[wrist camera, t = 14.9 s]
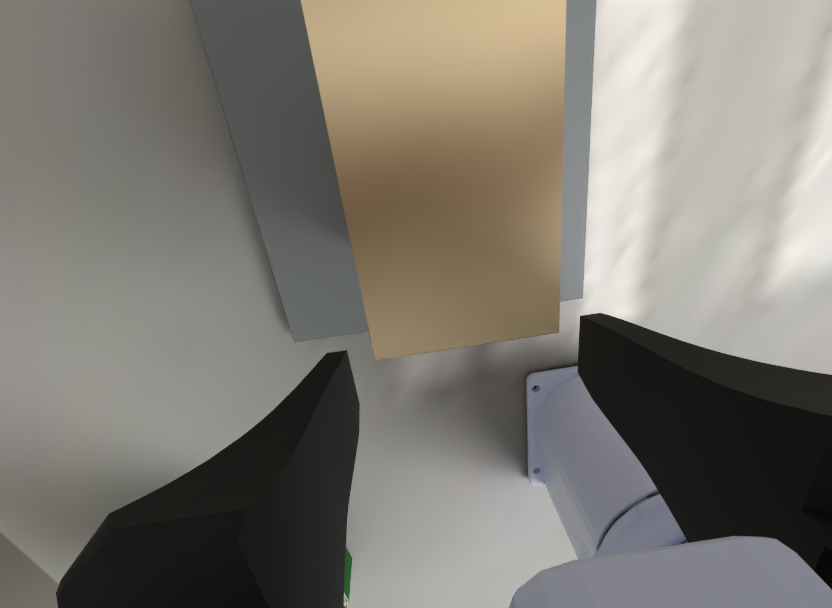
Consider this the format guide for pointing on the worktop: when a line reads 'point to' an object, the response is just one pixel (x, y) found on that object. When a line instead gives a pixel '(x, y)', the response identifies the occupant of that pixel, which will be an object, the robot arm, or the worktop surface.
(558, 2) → the oak block
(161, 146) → the worktop surface
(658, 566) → the robot arm
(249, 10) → the board
